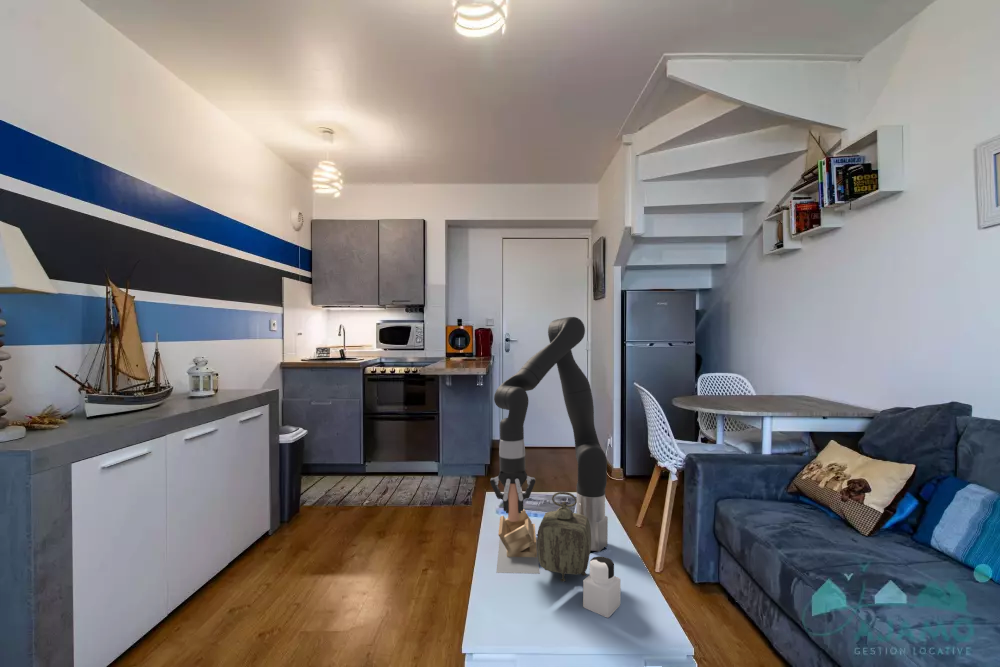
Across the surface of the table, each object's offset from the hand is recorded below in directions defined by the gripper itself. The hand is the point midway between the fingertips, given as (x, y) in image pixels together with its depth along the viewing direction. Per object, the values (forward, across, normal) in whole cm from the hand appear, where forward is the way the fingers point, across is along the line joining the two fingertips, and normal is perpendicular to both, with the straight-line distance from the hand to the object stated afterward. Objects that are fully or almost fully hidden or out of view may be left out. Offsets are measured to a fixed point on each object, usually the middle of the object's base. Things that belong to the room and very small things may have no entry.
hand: (513, 512), depth 136 cm
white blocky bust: (+18, -22, +17) cm, 33 cm away
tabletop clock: (+18, -14, +5) cm, 23 cm away
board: (+17, -1, -8) cm, 19 cm away
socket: (+16, -2, -12) cm, 20 cm away
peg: (+2, 0, 0) cm, 2 cm away
